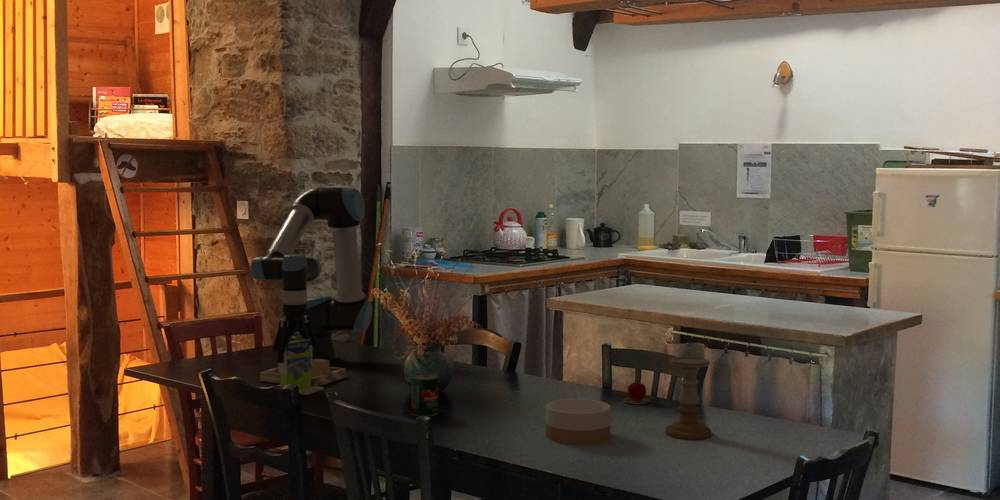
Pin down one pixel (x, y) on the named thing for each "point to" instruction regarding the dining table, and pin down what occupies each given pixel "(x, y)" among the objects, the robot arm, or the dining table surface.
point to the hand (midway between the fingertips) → (295, 369)
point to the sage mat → (309, 389)
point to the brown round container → (578, 421)
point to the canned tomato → (424, 394)
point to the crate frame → (317, 381)
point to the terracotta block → (319, 367)
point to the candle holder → (688, 401)
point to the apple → (636, 393)
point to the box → (298, 362)
